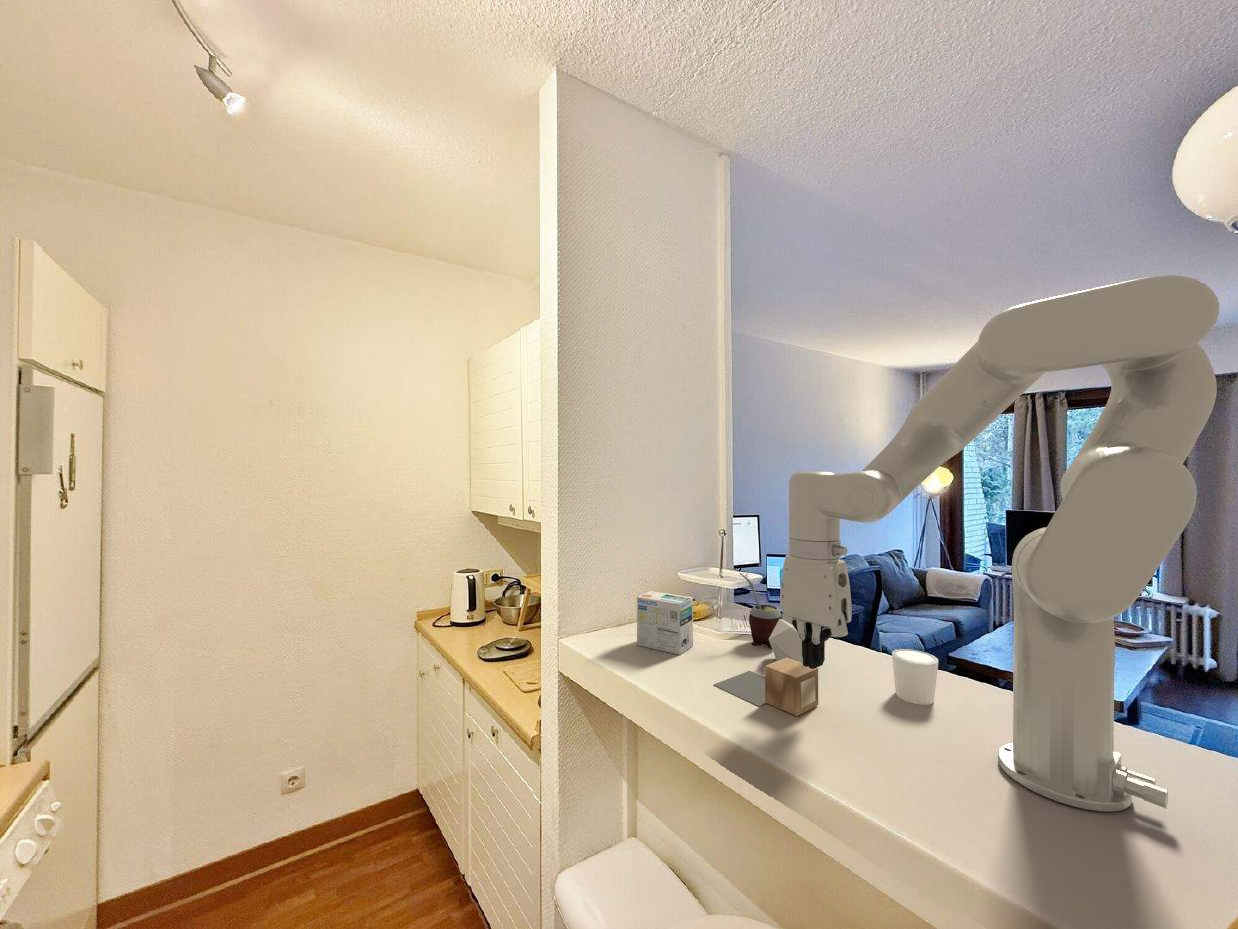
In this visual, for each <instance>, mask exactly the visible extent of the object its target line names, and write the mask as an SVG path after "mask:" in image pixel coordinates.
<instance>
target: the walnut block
mask: <svg viewBox="0 0 1238 929" xmlns="http://www.w3.org/2000/svg"><path fill="white" fill-rule="evenodd" d="M764 667H765V668H764V677H765V702H766V703H767V704H768V705H770V706H773V707H775V708H777V709H780V710H782V711H784V712H787V713H789V714H791V715H793V716H796V717H798V716H800V715H802V714H804V713H805V712H808V711H809V710H812V709H814V708H815V707H817V706H819V667H817V668H815V669H811V668H809V667H805V666H803V663H802V662H799V661H796V660H793V659H790V658H787V657H786V658H784V659H781V660H779V661H774V662H772V663H769V664H767V665H765V666H764Z"/></svg>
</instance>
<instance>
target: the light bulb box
mask: <svg viewBox="0 0 1238 929" xmlns="http://www.w3.org/2000/svg"><path fill="white" fill-rule="evenodd" d="M693 601H694V598H693V596H687V595H681V594H679V595H678V594H672V593H666V592H660V591H653V590H650V591H647V592H645V593H643V594H639V595H638V596H637V597H636V646H639V647H644V648H649V649H651V650H655V651H656V650H657V651H662V652H665V653H671V654H674V655H675V654H676V655H678V656H681V655H682V654H684V653H685V652H686V651H687V650H689V649H690V648H692V647H693V646H694V611H693V610H694V608H693V607H694V603H693Z"/></svg>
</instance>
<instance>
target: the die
mask: <svg viewBox="0 0 1238 929" xmlns="http://www.w3.org/2000/svg"><path fill="white" fill-rule="evenodd" d="M769 642H770V644H771V647H772V649H771V651H772V652H773V654H774V658H775V660H776V661H779V660H781V659H784V658H786V657H787V658H790V659H793V660H796V661H799V662H802V663H803V657H802V640H801V639H799V637H798V632H797V631H796V629H795V628H794V626H793V625H792V624H790V623H788V622H786V621H785V620H783V619H779V621H778V623H777V624H776V626H775V628H774V630H773V632H772V634H771V636H770V637H769ZM776 661H775V662H776Z"/></svg>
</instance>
